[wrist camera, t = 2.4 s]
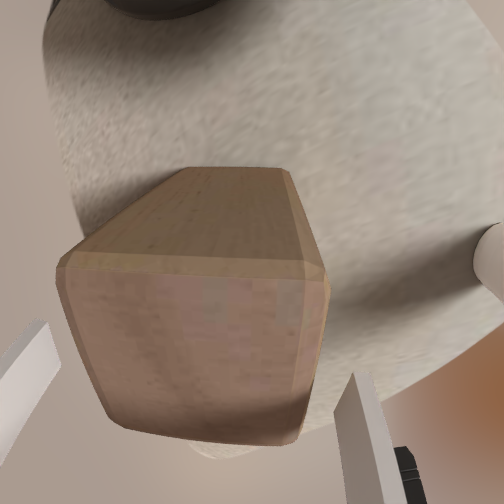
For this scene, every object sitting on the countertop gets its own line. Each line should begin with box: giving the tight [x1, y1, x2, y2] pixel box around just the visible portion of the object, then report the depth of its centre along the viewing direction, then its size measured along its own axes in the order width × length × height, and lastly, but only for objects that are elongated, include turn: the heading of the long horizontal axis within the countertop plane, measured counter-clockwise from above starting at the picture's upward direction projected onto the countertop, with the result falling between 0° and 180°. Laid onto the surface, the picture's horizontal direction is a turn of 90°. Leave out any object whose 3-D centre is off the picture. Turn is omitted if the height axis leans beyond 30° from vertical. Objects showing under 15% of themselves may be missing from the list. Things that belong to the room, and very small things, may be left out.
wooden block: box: [56, 167, 331, 446], centre depth 20 cm, size 10×10×20 cm
